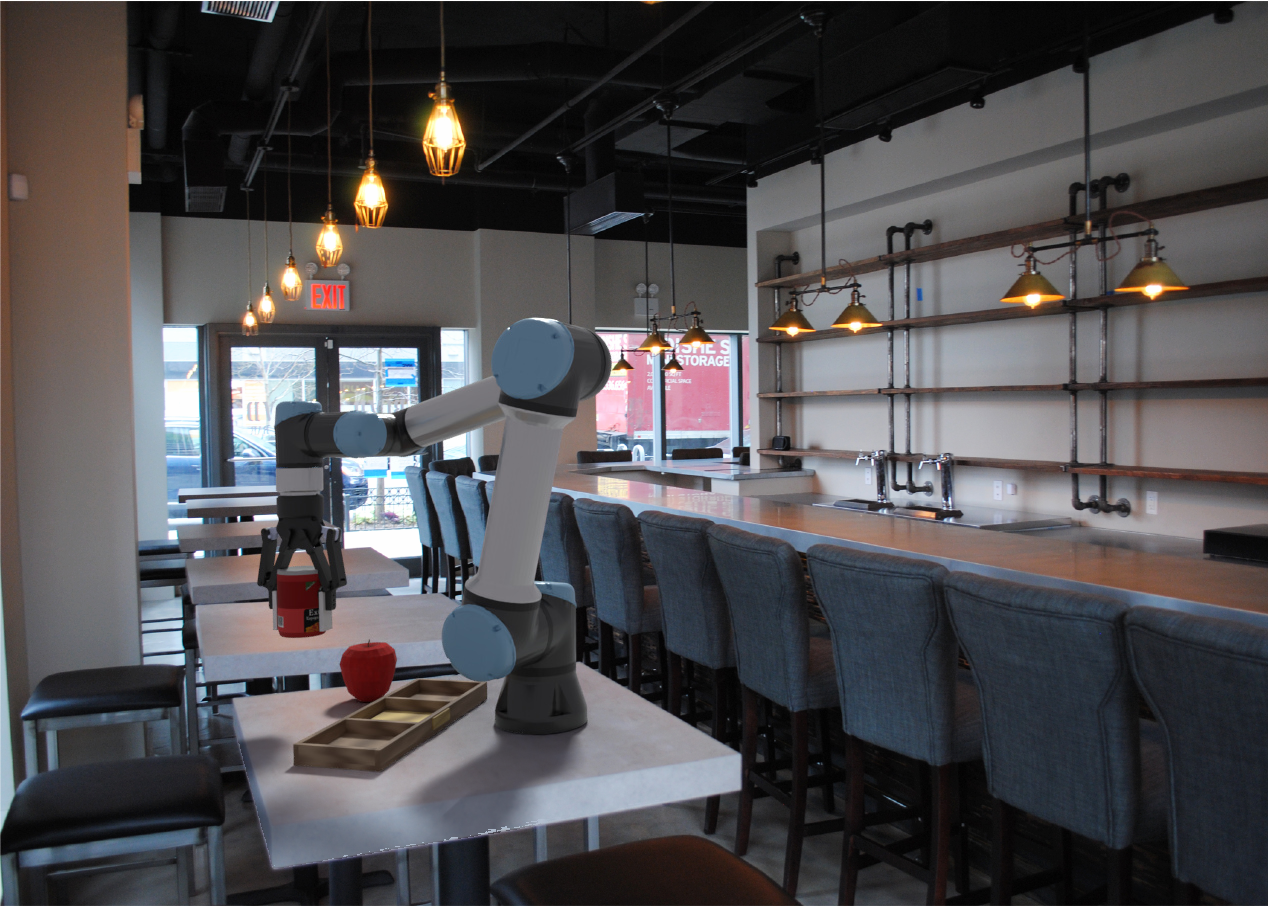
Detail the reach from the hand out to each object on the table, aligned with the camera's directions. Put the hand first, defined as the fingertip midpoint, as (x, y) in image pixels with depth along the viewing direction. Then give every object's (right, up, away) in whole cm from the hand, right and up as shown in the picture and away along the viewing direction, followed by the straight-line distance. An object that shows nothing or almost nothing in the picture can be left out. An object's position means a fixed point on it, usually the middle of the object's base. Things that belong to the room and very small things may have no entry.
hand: (302, 629), depth 161 cm
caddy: (+18, -15, -6) cm, 24 cm away
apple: (+8, -15, +12) cm, 21 cm away
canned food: (0, -1, 0) cm, 1 cm away
